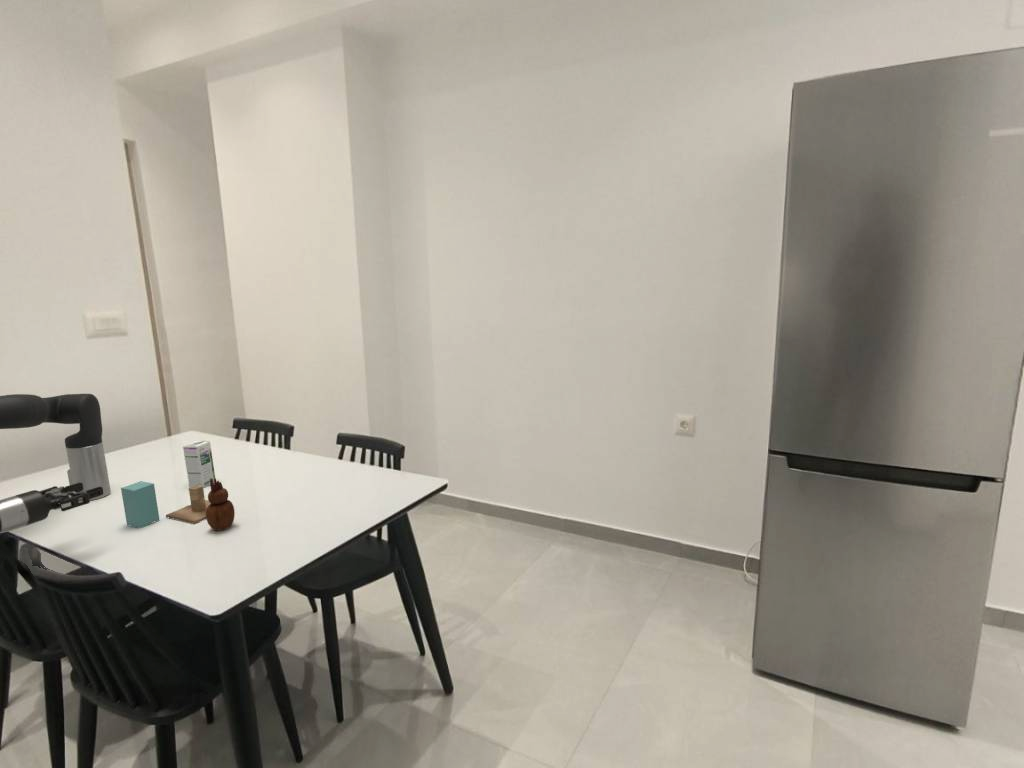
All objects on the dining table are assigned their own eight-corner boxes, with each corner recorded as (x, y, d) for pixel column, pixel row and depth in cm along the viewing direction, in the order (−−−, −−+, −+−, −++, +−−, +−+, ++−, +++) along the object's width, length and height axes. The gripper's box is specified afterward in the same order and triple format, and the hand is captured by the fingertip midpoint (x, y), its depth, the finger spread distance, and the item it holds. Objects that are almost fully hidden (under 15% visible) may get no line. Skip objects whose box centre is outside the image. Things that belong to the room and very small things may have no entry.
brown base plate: (194, 524, 156) (191, 497, 155) (166, 517, 161) (162, 492, 159) (231, 507, 167) (228, 482, 165) (203, 501, 172) (200, 477, 170)
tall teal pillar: (139, 528, 154) (133, 490, 152) (127, 525, 156) (120, 488, 154) (159, 520, 159) (154, 483, 157) (146, 517, 161) (141, 481, 159)
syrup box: (203, 488, 183) (198, 445, 180) (188, 487, 184) (182, 445, 181) (216, 482, 188) (210, 440, 186) (201, 481, 190) (195, 440, 187)
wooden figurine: (216, 535, 149) (209, 482, 146) (204, 530, 152) (197, 478, 149) (240, 525, 154) (233, 474, 152) (228, 521, 157) (221, 470, 155)
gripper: (31, 500, 127) (107, 477, 141) (-3, 492, 132) (73, 471, 147) (37, 531, 128) (111, 505, 143) (3, 522, 134) (78, 498, 148)
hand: (92, 488), depth 145 cm, fingers open, 8 cm apart
